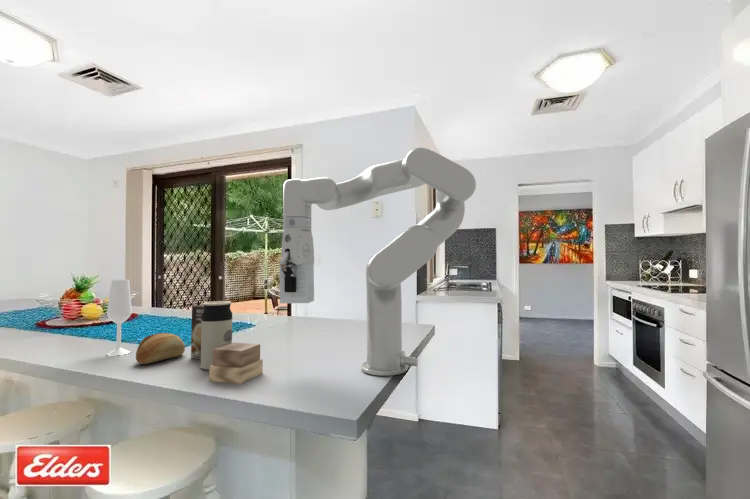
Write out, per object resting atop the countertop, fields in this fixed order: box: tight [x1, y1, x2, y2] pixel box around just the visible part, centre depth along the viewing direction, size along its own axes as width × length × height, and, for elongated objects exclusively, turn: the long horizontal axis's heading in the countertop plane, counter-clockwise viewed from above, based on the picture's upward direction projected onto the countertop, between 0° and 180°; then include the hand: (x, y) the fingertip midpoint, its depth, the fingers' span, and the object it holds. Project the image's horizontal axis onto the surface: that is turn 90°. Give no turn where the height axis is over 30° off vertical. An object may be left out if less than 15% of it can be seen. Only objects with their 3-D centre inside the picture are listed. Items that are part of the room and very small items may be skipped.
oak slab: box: [208, 358, 264, 385], centre depth 90 cm, size 9×9×4 cm
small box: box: [279, 264, 315, 304], centre depth 96 cm, size 8×6×10 cm
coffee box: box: [190, 304, 205, 360], centre depth 111 cm, size 9×6×16 cm
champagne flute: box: [106, 279, 133, 357], centre depth 116 cm, size 7×7×24 cm
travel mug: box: [200, 300, 233, 371], centre depth 100 cm, size 8×8×18 cm
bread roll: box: [135, 332, 186, 365], centre depth 107 cm, size 10×15×8 cm, turn 164°
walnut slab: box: [213, 342, 261, 368], centre depth 90 cm, size 8×8×4 cm
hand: (297, 290), depth 96 cm, fingers closed on small box, 6 cm apart
